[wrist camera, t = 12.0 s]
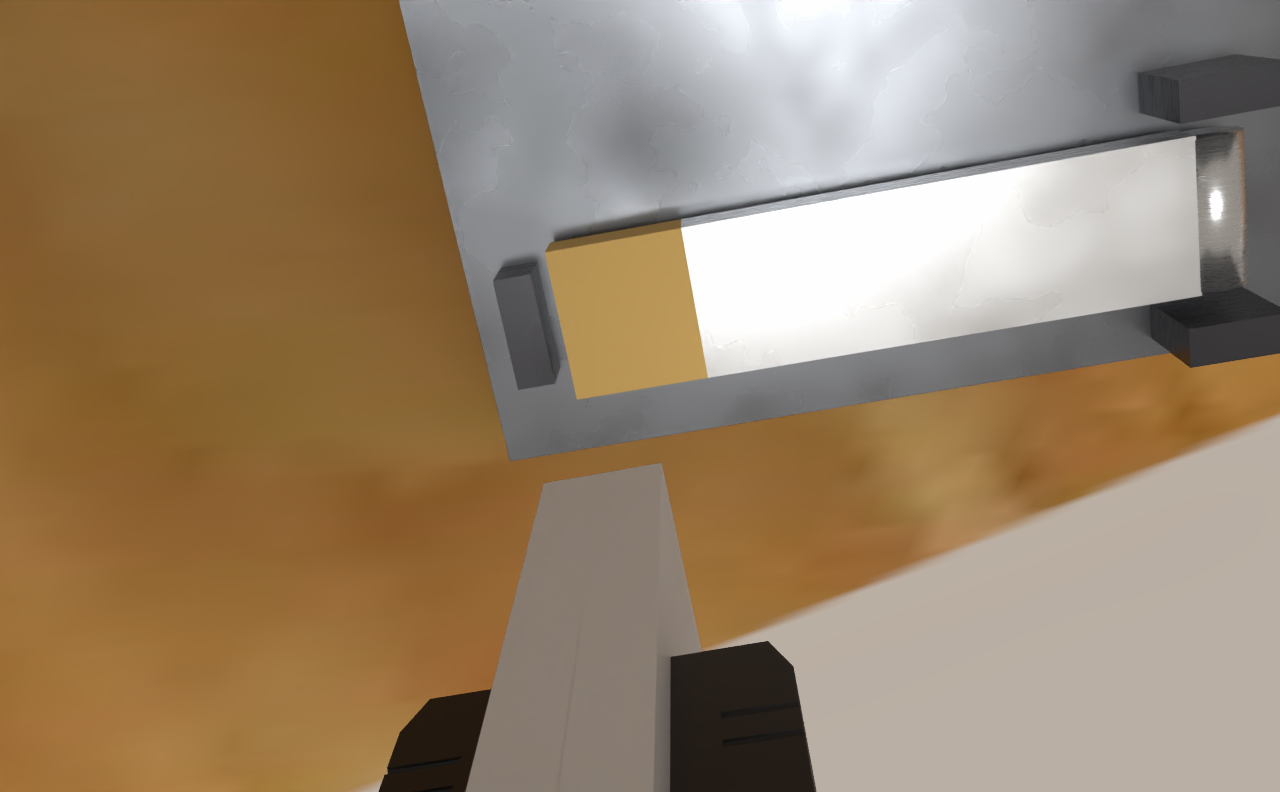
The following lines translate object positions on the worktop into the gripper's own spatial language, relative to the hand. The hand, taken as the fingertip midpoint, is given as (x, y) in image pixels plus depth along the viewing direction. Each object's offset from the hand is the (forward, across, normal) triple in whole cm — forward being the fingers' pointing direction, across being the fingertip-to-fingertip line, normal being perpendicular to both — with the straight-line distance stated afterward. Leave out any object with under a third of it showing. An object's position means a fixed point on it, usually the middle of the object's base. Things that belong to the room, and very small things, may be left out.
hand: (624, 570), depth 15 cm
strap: (+17, +6, -1) cm, 18 cm away
